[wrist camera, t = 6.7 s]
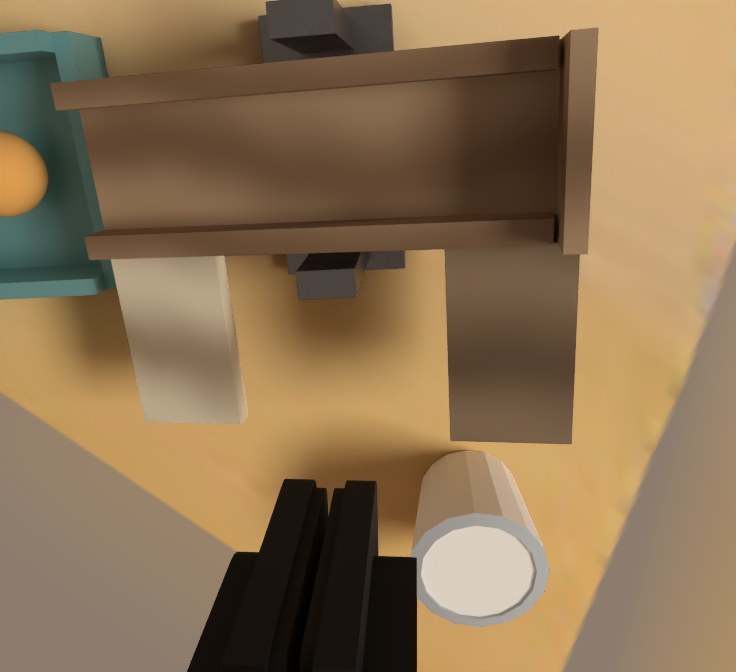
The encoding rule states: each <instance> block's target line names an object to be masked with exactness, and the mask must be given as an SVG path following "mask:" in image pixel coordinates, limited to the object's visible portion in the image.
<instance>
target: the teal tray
mask: <svg viewBox="0 0 736 672" xmlns="http://www.w3.org/2000/svg"><path fill="white" fill-rule="evenodd" d="M100 78H108V74H107V69H106V64H105V58H104V53H103V48H102V43H101V38H98V37H93V36H88V35H84V34H79V33H75V32H70V31H63V32H52V33H50V32H45V31H40V30H33V31H22V32H11V33H0V131H4V132H8V133H11V134H14V135H17V136H19V137H21V138H23V139H24V140H26V141H27V142H29V143H30V144H31V145H32V146H33V147H34V148H35V149H36V150H37V151H38V152H39V154H40V155H41V157H42V158H43V160H44V162H45V165H46V168H47V172H48V187H47V190H46V193H45V195H44V197H43V198H42V200H41V201H40V202H39V204H38V205H37V206H36V207H34V208H33V209H32V210H30V211H28V212H26V213H24V214H21V215H17V216H12V217H0V300H1V299H21V298H41V297H61V296H82V295H97V294H99V293H101V292H102V291H104V290H106V289H117V286H116V282H115V277H114V272H113V268H112V263H111V259H105V260H89V256H88V251H87V247H86V242H85V238H84V237H85V236H88V235H91V234H94V233H97V232H100V231H103V230H104V225H103V220H102V216H101V211H100V206H99V202H98V197H97V192H96V187H95V183H94V178H93V173H92V169H91V164H90V159H89V154H88V150H87V145H86V140H85V136H84V131H83V126H82V121H81V117H80V112H79V110H56V108H55V104H54V99H53V95H52V90H51V86H50V83H57V82H68V81H79V80H89V79H100Z"/></svg>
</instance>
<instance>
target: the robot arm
mask: <svg viewBox="0 0 736 672" xmlns="http://www.w3.org/2000/svg"><path fill="white" fill-rule="evenodd" d="M187 672H417V557H388V556H378V515H377V483H376V481H350V480H347V481H346V484H345V488H335V489H334V492H333V497H332V502H331V507H330V512H329V516H328V501H327V490H326V488H317V487H316V481H315V480H306V479H285V480H284V482H283V484H282V487H281V490H280V493H279V496H278V499H277V502H276V504H275V507H274V510H273V513H272V516H271V519H270V522H269V525H268V528H267V531H266V534H265V537H264V540H263V543H262V546H261V548H260V551H259V552H236V553H235V554H234V556H233V558H232V560H231V562H230V564H229V567H228V569H227V572H226V574H225V577H224V579H223V582H222V584H221V587H220V589H219V592H218V594H217V597H216V600H215V602H214V605H213V607H212V610H211V612H210V615H209V617H208V620H207V622H206V625H205V628H204V630H203V633H202V635H201V637H200V640H199V643H198V645H197V648H196V650H195V653H194V655H193V658H192V660H191V663H190V665H189V668H188V670H187Z"/></svg>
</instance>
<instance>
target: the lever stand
mask: <svg viewBox="0 0 736 672" xmlns="http://www.w3.org/2000/svg"><path fill="white" fill-rule="evenodd" d="M266 11H267V15H262V16H258V18H259V26H260V35H261V44H262V52H263V61H264V63H271V62H282V61H293V60H303V59H314V58H325V57H336V56H346V55H357V54H368V53H378V52H389V51H394V41H393V22H392V6H391V4H383V5H372V6H361V7H350V8H342V7H341V6H340V4H339V3H338V2H337V0H278V1H267V2H266ZM286 258H287V267H288V274H296V278H297V287H298V296H299V300H309V299H330V298H351V297H357V295H358V292H359V289H360V286H361V283H362V280H363V276H364V273H365V270H378V269H398V268H405V252H404V250H398V251H365V252H333V253H300V254H286Z"/></svg>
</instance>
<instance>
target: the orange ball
mask: <svg viewBox="0 0 736 672" xmlns="http://www.w3.org/2000/svg"><path fill="white" fill-rule="evenodd" d="M47 187H48V172H47V168H46V165H45V162H44V160H43V158H42V157H41V155H40V154H39V152H38V151H37V150H36V149H35V148H34V147H33V146H32V145H31V144H30V143H29V142H27V141H26V140H24V139H23V138H21V137H19V136H17V135H14V134H11V133H8V132H4V131H0V217H12V216H17V215H21V214H24V213H26V212H28V211H30V210H32V209H33V208H34V207H36V206H37V205H38V204H39V202H40V201H41V200H42V198H43V197H44V195H45V193H46V190H47Z"/></svg>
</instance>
